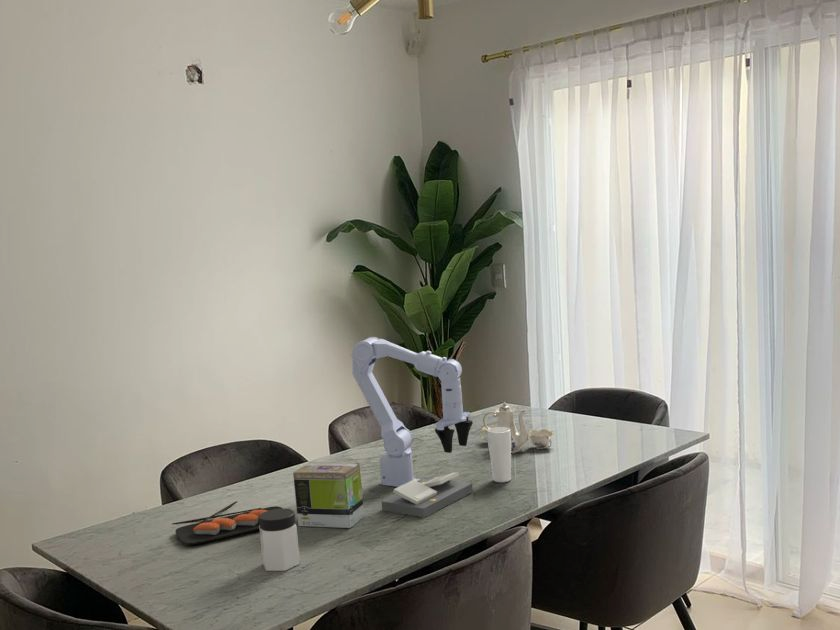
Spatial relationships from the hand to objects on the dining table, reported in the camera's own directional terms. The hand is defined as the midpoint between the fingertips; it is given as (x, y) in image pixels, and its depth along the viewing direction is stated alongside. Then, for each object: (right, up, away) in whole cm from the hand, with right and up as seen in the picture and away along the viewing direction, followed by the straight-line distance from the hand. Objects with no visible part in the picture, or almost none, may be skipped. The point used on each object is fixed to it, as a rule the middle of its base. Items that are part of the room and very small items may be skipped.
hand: (455, 448), depth 249 cm
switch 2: (-5, -8, -8) cm, 12 cm away
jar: (-42, -19, -50) cm, 68 cm away
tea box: (-33, -16, -23) cm, 43 cm away
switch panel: (-8, -12, -12) cm, 19 cm away
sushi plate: (-62, -18, -16) cm, 67 cm away
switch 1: (-12, -9, -17) cm, 22 cm away
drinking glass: (+14, -10, +2) cm, 17 cm away
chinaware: (+20, -6, +36) cm, 41 cm away
